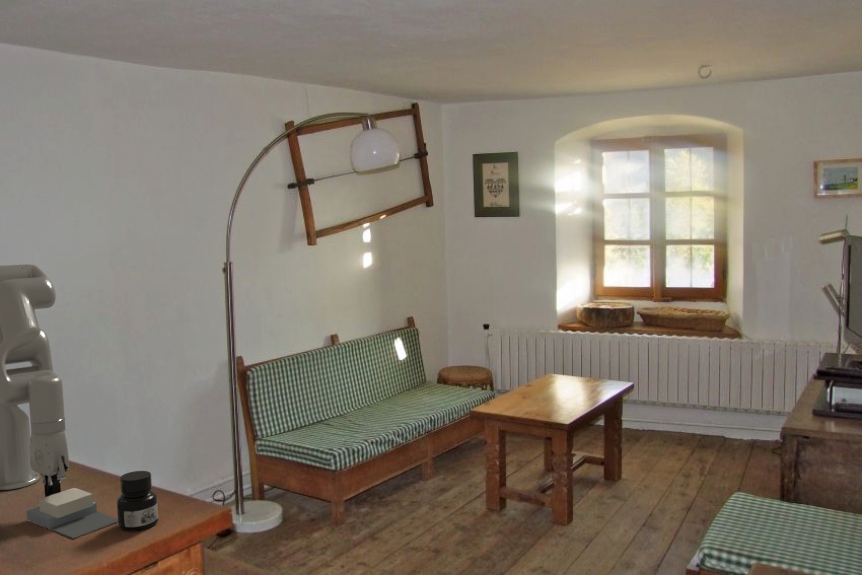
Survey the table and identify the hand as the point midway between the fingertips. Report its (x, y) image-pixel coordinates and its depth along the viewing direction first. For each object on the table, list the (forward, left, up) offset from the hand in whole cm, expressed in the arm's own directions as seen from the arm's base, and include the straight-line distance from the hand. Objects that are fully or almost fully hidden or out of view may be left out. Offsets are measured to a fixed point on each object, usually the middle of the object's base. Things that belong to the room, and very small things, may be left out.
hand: (53, 498), depth 190 cm
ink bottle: (+24, +7, -4) cm, 25 cm away
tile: (+6, 0, 0) cm, 6 cm away
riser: (+4, 0, -4) cm, 5 cm away
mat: (+14, 0, -4) cm, 14 cm away
